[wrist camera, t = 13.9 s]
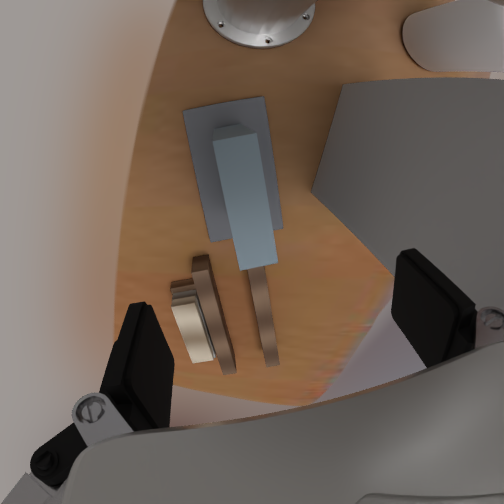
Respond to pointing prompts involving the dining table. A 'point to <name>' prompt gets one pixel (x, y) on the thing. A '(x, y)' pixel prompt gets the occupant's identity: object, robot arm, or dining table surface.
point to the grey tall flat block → (422, 175)
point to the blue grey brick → (245, 195)
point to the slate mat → (205, 164)
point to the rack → (217, 320)
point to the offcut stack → (191, 321)
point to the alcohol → (457, 37)
